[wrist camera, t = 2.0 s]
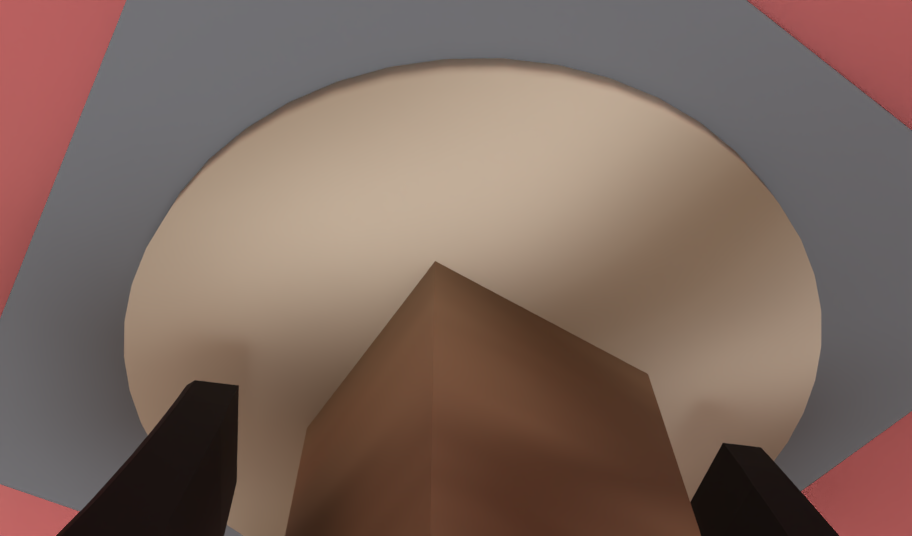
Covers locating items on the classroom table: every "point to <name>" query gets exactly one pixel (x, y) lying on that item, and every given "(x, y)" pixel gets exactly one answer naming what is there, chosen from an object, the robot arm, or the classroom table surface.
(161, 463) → the robot arm
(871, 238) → the mat
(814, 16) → the classroom table surface
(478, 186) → the lid
